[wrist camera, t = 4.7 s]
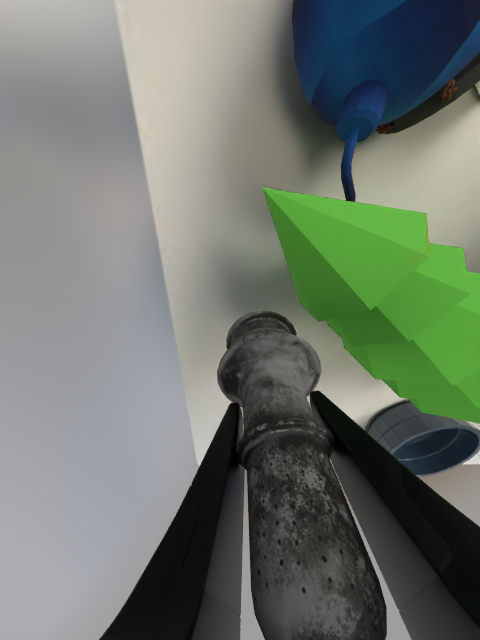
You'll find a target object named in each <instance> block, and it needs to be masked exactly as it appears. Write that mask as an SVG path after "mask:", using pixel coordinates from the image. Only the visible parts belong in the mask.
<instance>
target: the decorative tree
mask: <svg viewBox="0 0 480 640" xmlns="http://www.w3.org/2000/svg"><path fill="white" fill-rule="evenodd" d="M262 189H263V192H264V195H265V198H266V201H267V204H268V207H269V210H270V213H271V216H272V219H273V222H274V225H275V228H276V231H277V234H278V237H279V240H280V243H281V246H282V249H283V252H284V255H285V258H286V261H287V264H288V267H289V270H290V273H291V276H292V279H293V282H294V285H295V288H296V291H297V294H298V297H299V300H300V303H301V305H302V306H303V307H304V308H305V309H306V310H307V311H308V312H309V313H310V314H311V315H312V316H313V317H314V318H315V319H316V320H317V321H318V322H319V321H324V320H327V321H328V325H329V326H330V327H331V328H332V329H333V330H334V331H335V332H336V333H337V334H338V335H339V336H340V337H341V338H342V339H343V342H344V348H345V349H346V350H347V351H348V352H349V353H350V354H351V355H352V356H353V357H354V358H355V359H356V360H357V361H358V362H359V363H360V364H361V365H362V366H363V367H364V368H365V369H366V370H367V371H368V372H369V373H370V374H371V375H372V376H373V377H374V378H375V379H382V380H383V381H384V382H385V383H386V384H387V385H388V386H389V387H390V388H391V389H392V390H393V391H394V392H395V393H396V394H397V395H398V396H399V397H401V398H407V399H408V400H409V401H410V402H411V403H412V404H413V405H414V406H416V407H417V408H418V409H419V410H420V411H421V412H422V413H428V414H433V415H438V416H444V417H449V418H454V419H460V420H465V421H470V422H476V423H480V273H475V272H470V271H467V268H466V263H465V257H464V251H463V248H457V247H450V246H444V245H437V244H430V243H429V240H428V228H427V215H426V213H420V212H414V211H408V210H401V209H395V208H389V207H383V206H376V205H370V204H364V203H357V202H351V201H345V200H338V199H332V198H326V197H319V196H313V195H307V194H300V193H294V192H288V191H281V190H275V189H269V188H263V187H262Z"/></svg>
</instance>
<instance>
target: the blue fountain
mask: <svg viewBox="0 0 480 640" xmlns="http://www.w3.org/2000/svg"><path fill="white" fill-rule="evenodd" d="M368 434H369V435H370V436H371V437H373V438H374V439H375V440H376V441H377V442H378V443H379V444H381V445H382V446H383V447H384V448H385V449H386V450H387V451H389V452H390V453H391V454H392V455H393V456H394V457H395V458H397V459H398V460H399V461H400V464H401V463H402V464H404V465H405V466H406V467H407V468H408V469H409V470H410V471H411V472H413V473H414V474H415V475H416V476H417V477H424V476H429V475H434V474H438V473H441V472H445V471H447V470H450V469H452V468H455V467H457V466H459V465H461V464H462V463H464V462H466V461H467V460H469V459H471V458H472V457H473V456H474V455H475V454H476V453H478V451H479V450H480V430H478V429H477V428H476V427H475V426H473V425H472V424H471V423H470V422H468V421H465V420H460V419H454V418H449V417H444V416H438V415H433V414H428V413H422V412H421V411H420V410H419V409H418V408H417V407H416V406H414V405H413V404H412V403H411V402H410V401H409V402H405V403H402V404H399V405H396V406H394V407H392V408H390V409H388V410H386V411H385V412H383V413H382V414H380V415H379V416H378V417H377V418H376V419H375V420H374V421H373V423H372V424H371V426H370V429H369V431H368Z"/></svg>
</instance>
